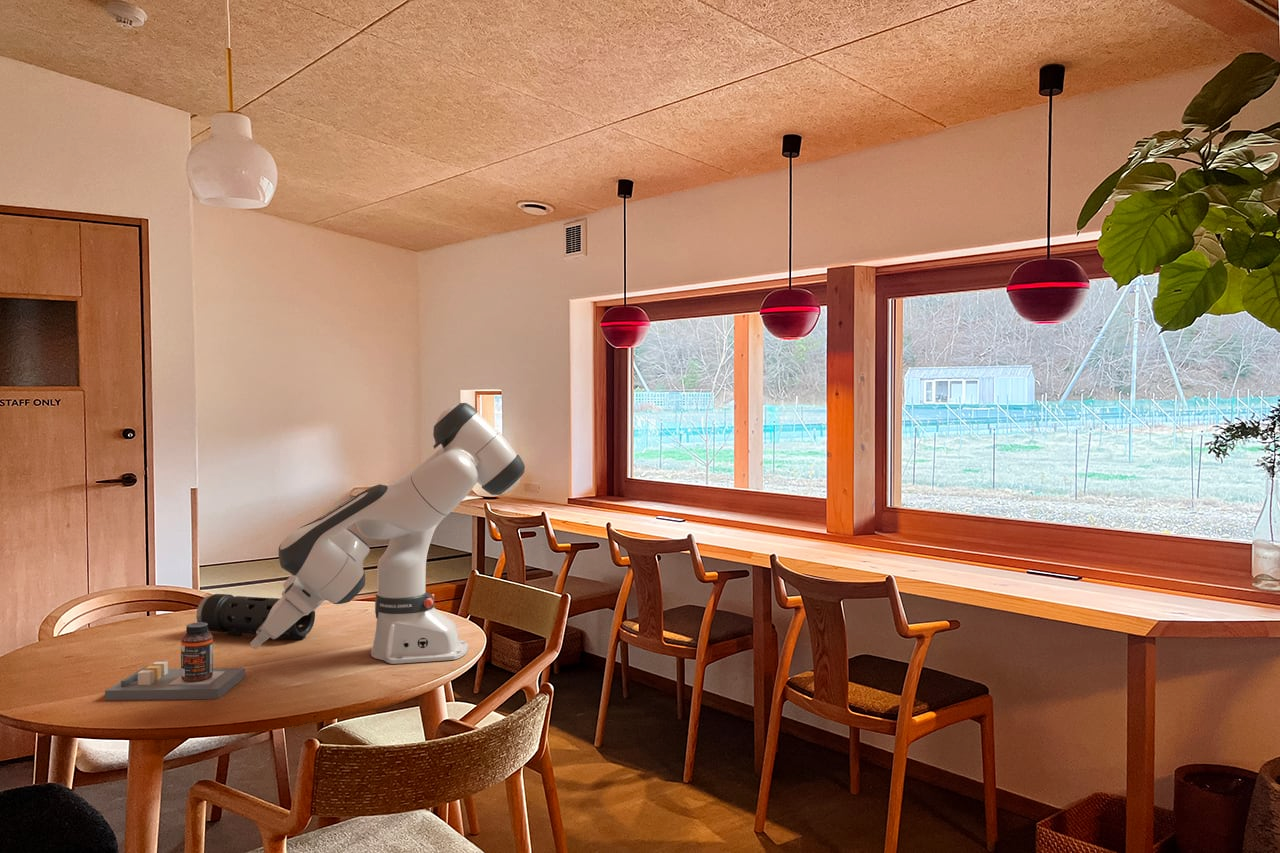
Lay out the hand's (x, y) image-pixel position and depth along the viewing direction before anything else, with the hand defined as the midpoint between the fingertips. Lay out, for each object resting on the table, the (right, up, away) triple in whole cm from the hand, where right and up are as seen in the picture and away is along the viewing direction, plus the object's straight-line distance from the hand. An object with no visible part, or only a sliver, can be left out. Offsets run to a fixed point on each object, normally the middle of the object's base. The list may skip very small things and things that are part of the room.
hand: (255, 640), depth 187 cm
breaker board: (-15, -9, -3) cm, 18 cm away
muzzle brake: (-16, -8, +37) cm, 41 cm away
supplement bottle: (-10, -7, -4) cm, 13 cm away
